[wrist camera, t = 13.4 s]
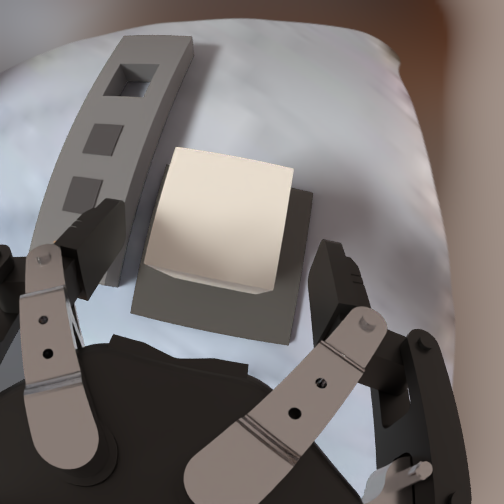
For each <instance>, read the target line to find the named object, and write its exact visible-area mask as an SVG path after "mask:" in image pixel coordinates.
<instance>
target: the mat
mask: <svg viewBox="0 0 504 504" xmlns="http://www.w3.org/2000/svg"><path fill="white" fill-rule="evenodd" d="M169 166H170V165H166V169H165V172H164V175H163V178H162V182H161V185H160V188H159V192H158V195H157V199H156V202H155V206H154V210H153V213H152V217H151V221H150V225H149V229H148V233H147V237H146V241H145V245H144V249H143V253H142V258H141V262H140V267H139V271H138V276H137V281H136V286H135V291H134V296H133V301H132V306H131V312H130V313H132V314H136V315H139V316H143V317H147V318H151V319H155V320H159V321H164V322H168V323H172V324H176V325H181V326H185V327H190V328H194V329H199V330H204V331H209V332H214V333H219V334H224V335H229V336H234V337H240V338H246V339H251V340H257V341H263V342H269V343H276V344H282V345H289V340H290V335H291V330H292V324H293V319H294V313H295V308H296V302H297V296H298V291H299V285H300V279H301V273H302V267H303V260H304V254H305V248H306V241H307V234H308V227H309V220H310V213H311V206H312V198H313V193H312V192H307V191H303V190H299V189H294V188H291V189H290V196H289V202H288V208H287V214H286V220H285V226H284V232H283V238H282V244H281V250H280V255H279V261H278V267H277V272H276V278H275V284H274V289H273V290H272V291H268V292H264V293H260V294H251V293H246V292H241V291H236V290H231V289H226V288H221V287H216V286H211V285H206V284H201V283H196V282H192V281H187V280H182V279H178V278H174V277H172V276H169V275H167V274H165V273H163V272H161V271H158V270H156V269H154V268H152V267H150V266H148V265H145V264H144V259H145V255H146V251H147V246H148V242H149V238H150V234H151V230H152V226H153V222H154V219H155V215H156V211H157V207H158V204H159V200H160V197H161V193H162V190H163V186H164V183H165V180H166V176H167V173H168V170H169Z"/></svg>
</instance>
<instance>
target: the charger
mask: <svg viewBox="0 0 504 504" xmlns="http://www.w3.org/2000/svg"><path fill="white" fill-rule="evenodd" d="M293 170H294V169H292V168H288V167H284V166H279V165H275V164H270V163H265V162H260V161H256V160H251V159H246V158H240V157H235V156H230V155H224V154H219V153H213V152H207V151H201V150H194V149H188V148H181V147H176V148H175V151H174V154H173V157H172V160H171V163H170V166H169V170H168V173H167V176H166V180H165V183H164V186H163V190H162V193H161V197H160V200H159V204H158V207H157V211H156V215H155V219H154V222H153V226H152V230H151V234H150V238H149V242H148V246H147V251H146V255H145V259H144V264H145V265H148V266H150V267H152V268H154V269H156V270H158V271H161V272H163V273H165V274H167V275H169V276H172V277H174V278H178V279H182V280H187V281H192V282H196V283H201V284H206V285H211V286H216V287H221V288H226V289H231V290H236V291H241V292H246V293H251V294H260V293H264V292H268V291H272V290H273V289H274V284H275V278H276V272H277V267H278V261H279V255H280V250H281V244H282V238H283V232H284V226H285V220H286V214H287V208H288V202H289V196H290V189H291V183H292V177H293Z"/></svg>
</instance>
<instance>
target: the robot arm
mask: <svg viewBox="0 0 504 504" xmlns="http://www.w3.org/2000/svg"><path fill="white" fill-rule="evenodd" d="M125 239H126V220H125V203H124V201H122V200H117V199H111V198H105V199H104V200H103V201H102V202H101V203H100V204H99V205H98V206H97V207H96V208H92V209H90V210H88V211H86V212H84V213H83V214H82V215H81V216H80V217H79V218H78V219H77V220H76V221H75V222H74V223H73V224H72V225H71V227H69V228H68V229H67V230H66V231H65V232H64V233H63V234H62V235H61V236H60V237H59V238H58V239H57V240H56V241H55V243H54V244H43V245H40V246H37V247H35V248H34V249H32V250H31V251H30V252H29V253H28V255H27V257H13V256H12V253H11V250H10V248H9V247H8V246H7V245H0V364H1V362H2V360H3V358H4V356H5V354H6V353H7V350H8V349H9V347H10V345H11V343H12V341H13V339H14V338H15V336H16V334H17V332H18V330H19V329H20V332H21V347H22V358H23V367H24V375H25V379H23V380H22V381H20V382H18V383H16V384H14V385H12V386H11V387H9V388H7V389H5V390H3V391H2V392H0V504H471V487H470V478H469V470H468V463H467V456H466V451H465V445H464V439H463V434H462V429H461V424H460V420H459V416H458V411H457V407H456V403H455V399H454V395H453V391H452V387H451V384H450V380H449V376H448V373H447V370H446V366H445V363H444V360H443V357H442V353H441V350H440V347H439V345H438V343H437V341H436V340H435V338H434V337H433V336H432V335H431V334H429V333H428V332H426V331H424V330H421V329H414V330H412V331H411V332H410V333H409V334H408V335H407V337H405V336H402V335H400V334H397V333H395V332H392V331H390V330H388V329H387V324H386V322H385V320H384V318H383V317H382V316H381V315H380V314H379V313H378V312H376V311H375V310H373V309H371V306H370V303H369V299H368V296H367V293H366V290H365V287H364V285H363V280H362V278H361V274H360V271H359V268H358V266H357V265H356V263H355V262H354V261H353V260H352V259H351V258H350V257H346V256H345V253H344V250H343V247H342V244H341V243H338V242H334V241H329V240H324V239H323V240H322V241H321V243H320V245H319V248H318V250H317V253H316V256H315V258H314V261H313V264H312V266H311V269H310V272H309V276H308V291H309V301H310V311H311V321H312V332H313V344H314V349H313V350H312V351H311V352H310V353H309V354H308V355H307V356H306V357H305V358H304V360H303V361H302V362H301V363H300V364H299V365H298V366H297V367H296V368H295V369H294V370H293V371H292V372H291V373H290V374H289V375H288V376H287V377H286V378H285V379H284V380H283V381H282V382H281V383H280V384H279V385H278V386H277V387H276V388H275V389H274V390H273V389H271V388H270V387H269V386H268V385H266V384H265V383H263V382H262V381H260V380H258V379H257V378H255V377H253V376H250V375H248V364H243V363H237V362H231V361H225V360H220V359H215V358H205V359H179V358H174V357H172V356H170V355H168V354H166V353H164V352H161V351H159V350H157V349H156V348H154V347H152V346H150V345H148V344H146V343H144V342H140V341H136V340H132V339H129V338H125V337H122V336H118V335H115V334H113V336H112V338H111V340H110V342H109V343H101V344H93V345H89V346H85V344H84V341H83V337H82V333H81V329H80V324H79V320H78V315H77V311H76V306H75V301H76V300H77V298H80V299H83V300H87V301H88V300H89V299H90V297H91V295H92V294H93V292H94V290H95V289H96V287H97V286H98V284H99V283H100V281H101V279H102V278H103V276H104V275H105V273H106V272H107V270H108V269H109V267H110V266H111V264H112V263H113V261H114V260H115V258H116V257H117V255H118V254H119V252H120V251H121V249H122V248H123V246H124V243H125ZM357 383H360V384H363V385H365V386H368V387H370V389H371V398H372V408H373V418H374V431H375V445H376V465H377V470H376V471H374V472H373V473H372V474H371V475H370V477H369V478H368V480H367V483H366V489H365V491H364V495H363V497H362V499H361V498H360V496H359V495H358V493H357V492H356V491H355V490H354V488H353V487H352V486H351V485H350V484H349V483H348V481H347V480H346V479H345V478H344V477H343V476H342V474H341V473H340V472H339V471H338V470H337V468H336V467H335V466H334V465H333V464H332V462H331V461H330V460H329V459H328V457H327V456H326V455H325V454H324V453H323V451H322V450H321V449H320V448H319V446H318V445H317V444H316V443H315V441H314V440H315V439H316V438H317V437H318V435H319V434H320V433H321V432H322V430H323V429H324V428H325V427H326V425H327V424H328V423H329V421H330V420H331V419H332V417H333V416H334V415H335V413H336V412H337V411H338V409H339V408H340V407H341V405H342V404H343V402H344V401H345V400H346V398H347V397H348V395H349V394H350V393H351V391H352V390H353V388H354V387H355V385H356V384H357ZM408 389H409V394H408ZM409 395H410V400H409Z"/></svg>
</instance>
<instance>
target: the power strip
mask: <svg viewBox="0 0 504 504" xmlns="http://www.w3.org/2000/svg"><path fill="white" fill-rule="evenodd" d="M193 57H194V49H193V39H192V36H171V35H135V36H124V37H123V38H122V39H121V41H120V42H119V44H118V45H117V47H116V48H115V50H114V51H113V53H112V54H111V56H110V58H109V59H108V61H107V62H106V64H105V66H104V67H103V69H102V71H101V72H100V74H99V76H98V77H97V79H96V81H95V83H94V84H93V86H92V88H91V90H90V91H89V93H88V95H87V97H86V99H85V101H84V103H83V105H82V107H81V109H80V111H79V113H78V115H77V117H76V119H75V121H74V123H73V125H72V127H71V129H70V132H69V134H68V136H67V138H66V140H65V143H64V145H63V147H62V150H61V152H60V155H59V157H58V160H57V162H56V165H55V167H54V170H53V173H52V175H51V178H50V181H49V184H48V187H47V190H46V193H45V196H44V199H43V202H42V205H41V208H40V212H39V215H38V219H37V222H36V226H35V230H34V233H33V237H32V241H31V245H30V250H29V252H30V251H31V250H32V249H34V248H35V247H37V246H40V245H43V244H54V243H55V241H56V240H57V239H58V238H59V237H60V236H61V235H62V234H63V233H64V232H65V231H66V230H67V229H68V228H69V227H71V225H72V224H73V223H74V222H75V221H76V220H77V219H78V218H79V217H80V216H81V215H82V214H83V213H84V212H86V211H88V210H90V209H92V208H96V207H97V206H98V205H99V204H100V203H101V202H102V201H103V200H104V199H105V198H111V199H117V200H122V201H124V203H125V220H126V239H125V243H124V246H123V248H122V249H121V251H120V252H119V254H118V255H117V257H116V258H115V260H114V261H113V263H112V264H111V266H110V267H109V269H108V270H107V272H106V273H105V275H104V276H103V278H102V279H101V281H100V283H99V284H101V285H105V286H111V287H118V285H119V280H120V275H121V271H122V266H123V261H124V257H125V253H126V249H127V244H128V240H129V236H130V232H131V229H132V225H133V221H134V217H135V214H136V210H137V206H138V203H139V200H140V196H141V193H142V189H143V186H144V183H145V180H146V177H147V173H148V170H149V167H150V164H151V161H152V158H153V155H154V152H155V150H156V147H157V144H158V141H159V138H160V136H161V133H162V130H163V127H164V125H165V122H166V120H167V117H168V114H169V112H170V109H171V107H172V104H173V102H174V99H175V97H176V95H177V92H178V90H179V88H180V85H181V83H182V81H183V78H184V76H185V74H186V72H187V69H188V67H189V65H190V63H191V61H192V59H193ZM127 81H135V82H150V84H149V86H148V88H147V91H146V93H145V95H144V97H126V96H120V95H121V93H122V91H123V89H124V87H125V85H126V83H127Z"/></svg>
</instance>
